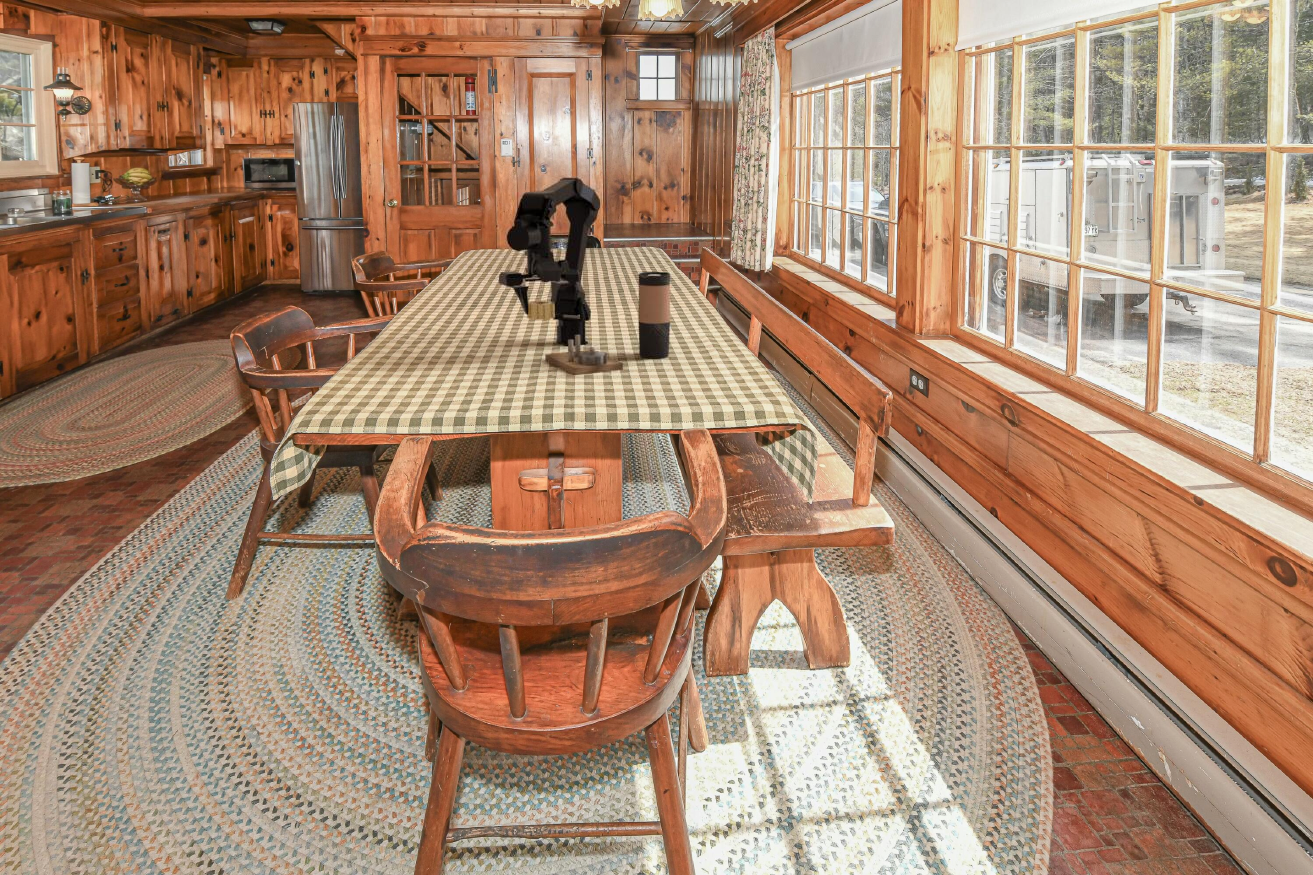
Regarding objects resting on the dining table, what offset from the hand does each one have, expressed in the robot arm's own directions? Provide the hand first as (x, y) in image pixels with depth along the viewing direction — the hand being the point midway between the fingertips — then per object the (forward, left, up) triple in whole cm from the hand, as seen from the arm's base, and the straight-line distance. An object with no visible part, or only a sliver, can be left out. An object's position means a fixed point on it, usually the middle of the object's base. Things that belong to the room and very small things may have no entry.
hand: (540, 313), depth 231 cm
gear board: (-5, +14, -10) cm, 18 cm away
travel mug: (-24, +13, -11) cm, 29 cm away
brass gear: (0, 0, -1) cm, 1 cm away
